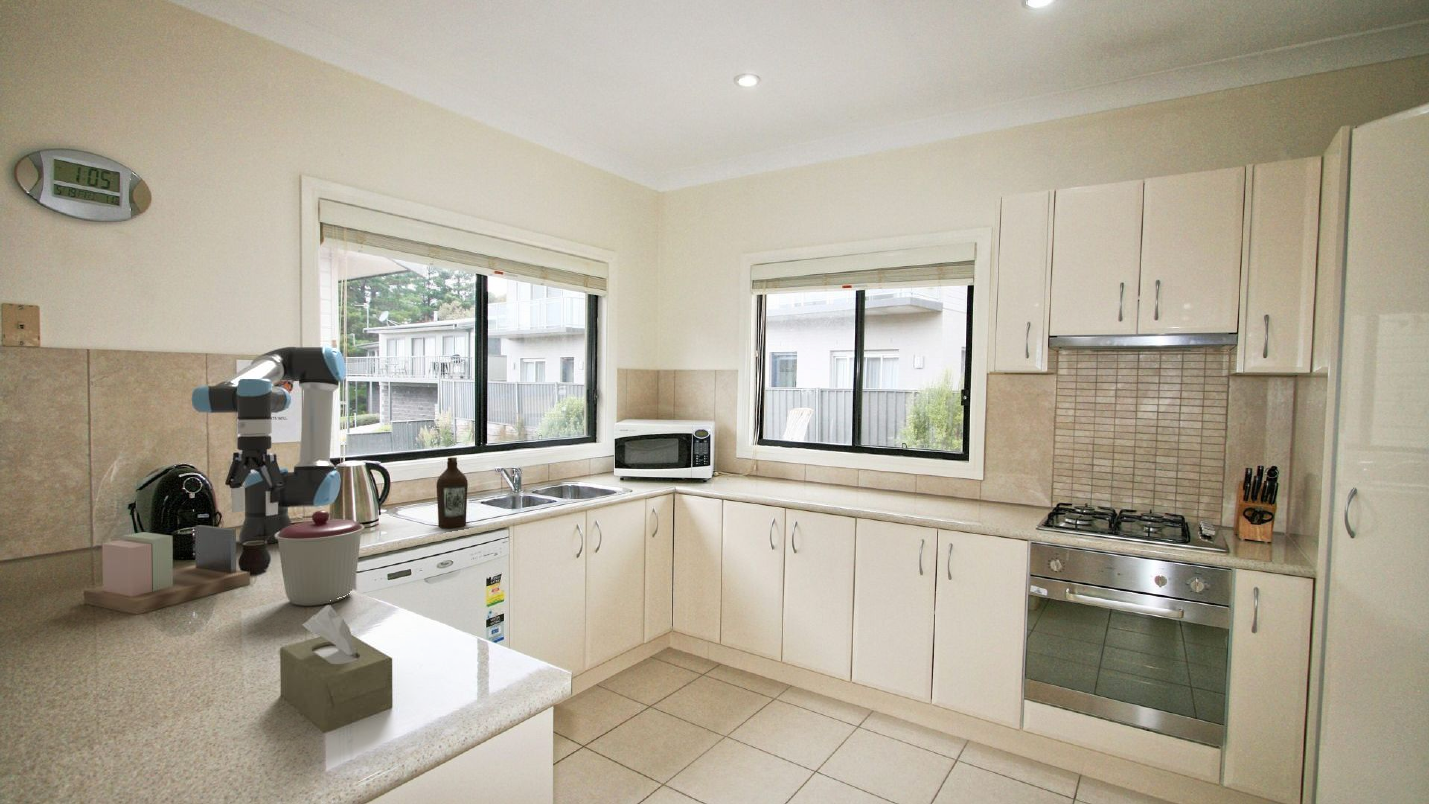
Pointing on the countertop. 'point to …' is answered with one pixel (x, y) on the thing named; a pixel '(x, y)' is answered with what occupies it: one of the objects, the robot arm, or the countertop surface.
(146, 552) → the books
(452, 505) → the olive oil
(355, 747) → the countertop surface
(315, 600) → the canister
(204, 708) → the countertop surface
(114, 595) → the wooden serving tray
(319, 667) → the tissue box
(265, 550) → the mate gourd
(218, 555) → the bookend
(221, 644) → the countertop surface
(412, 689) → the countertop surface
